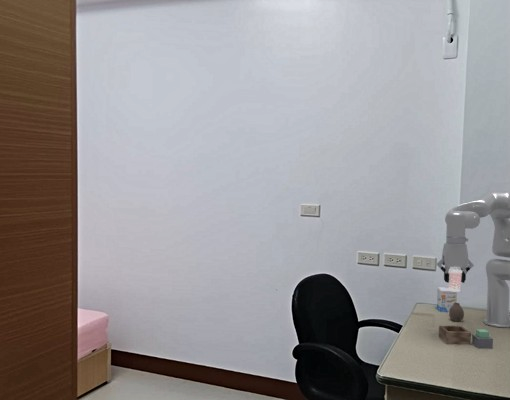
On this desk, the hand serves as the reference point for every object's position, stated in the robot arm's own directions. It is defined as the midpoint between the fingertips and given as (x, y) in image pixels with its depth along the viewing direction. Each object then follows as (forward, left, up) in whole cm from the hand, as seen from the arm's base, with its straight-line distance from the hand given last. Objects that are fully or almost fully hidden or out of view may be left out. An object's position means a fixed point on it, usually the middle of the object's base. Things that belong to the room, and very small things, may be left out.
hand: (454, 281), depth 216 cm
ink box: (-16, -52, -26) cm, 60 cm away
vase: (-13, -31, -26) cm, 43 cm away
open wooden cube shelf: (0, +1, -25) cm, 25 cm away
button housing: (-9, +8, -25) cm, 28 cm away
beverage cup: (0, 0, -4) cm, 4 cm away
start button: (-9, +8, -24) cm, 27 cm away
